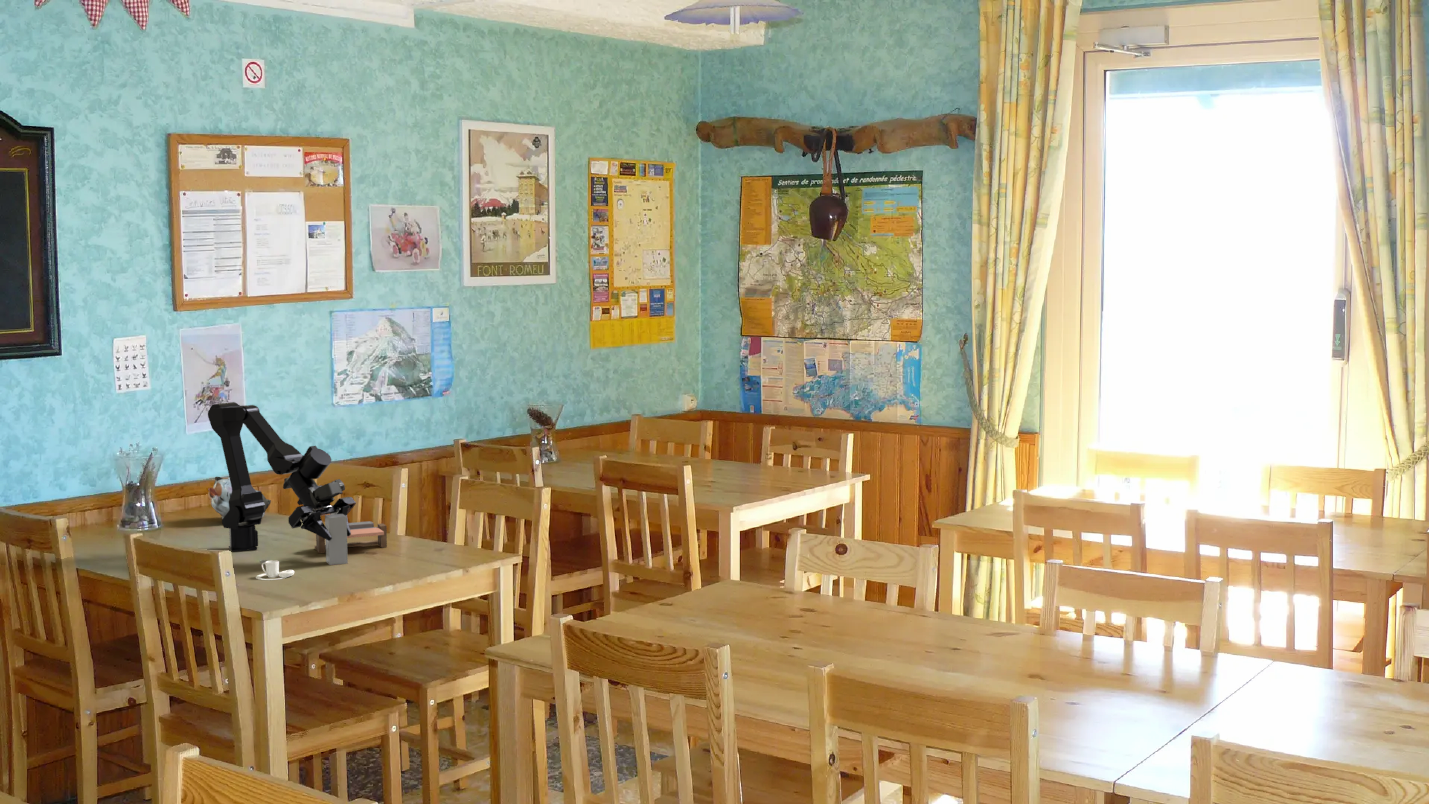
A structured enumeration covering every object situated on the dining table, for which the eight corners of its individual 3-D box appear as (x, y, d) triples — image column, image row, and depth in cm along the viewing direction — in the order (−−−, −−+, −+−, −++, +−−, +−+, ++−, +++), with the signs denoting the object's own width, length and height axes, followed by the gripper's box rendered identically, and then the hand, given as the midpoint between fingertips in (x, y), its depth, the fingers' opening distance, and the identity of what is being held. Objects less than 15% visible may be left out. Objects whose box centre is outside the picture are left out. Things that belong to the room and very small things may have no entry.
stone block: (329, 565, 337) (328, 518, 336) (326, 561, 341) (324, 515, 340) (347, 563, 339) (346, 516, 338) (344, 560, 343) (342, 513, 342)
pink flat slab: (329, 543, 347) (329, 532, 347) (321, 536, 357) (321, 525, 357) (384, 538, 354) (383, 527, 353) (374, 531, 363) (374, 520, 363)
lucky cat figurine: (258, 525, 390) (229, 480, 385) (219, 541, 393) (190, 497, 388) (279, 499, 405) (251, 456, 400) (242, 515, 408) (214, 473, 403)
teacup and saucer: (299, 577, 325) (299, 560, 325) (273, 583, 319) (273, 566, 318) (274, 573, 330) (274, 556, 330) (248, 579, 323) (248, 562, 323)
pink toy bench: (319, 553, 351) (318, 531, 351) (314, 548, 357) (314, 527, 357) (386, 547, 359) (386, 525, 359) (381, 542, 365) (380, 521, 365)
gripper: (295, 475, 332) (328, 523, 327) (349, 465, 348) (382, 511, 344) (273, 503, 336) (306, 551, 332) (328, 493, 353) (360, 538, 348)
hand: (340, 537), depth 339 cm, fingers closed on stone block, 6 cm apart
